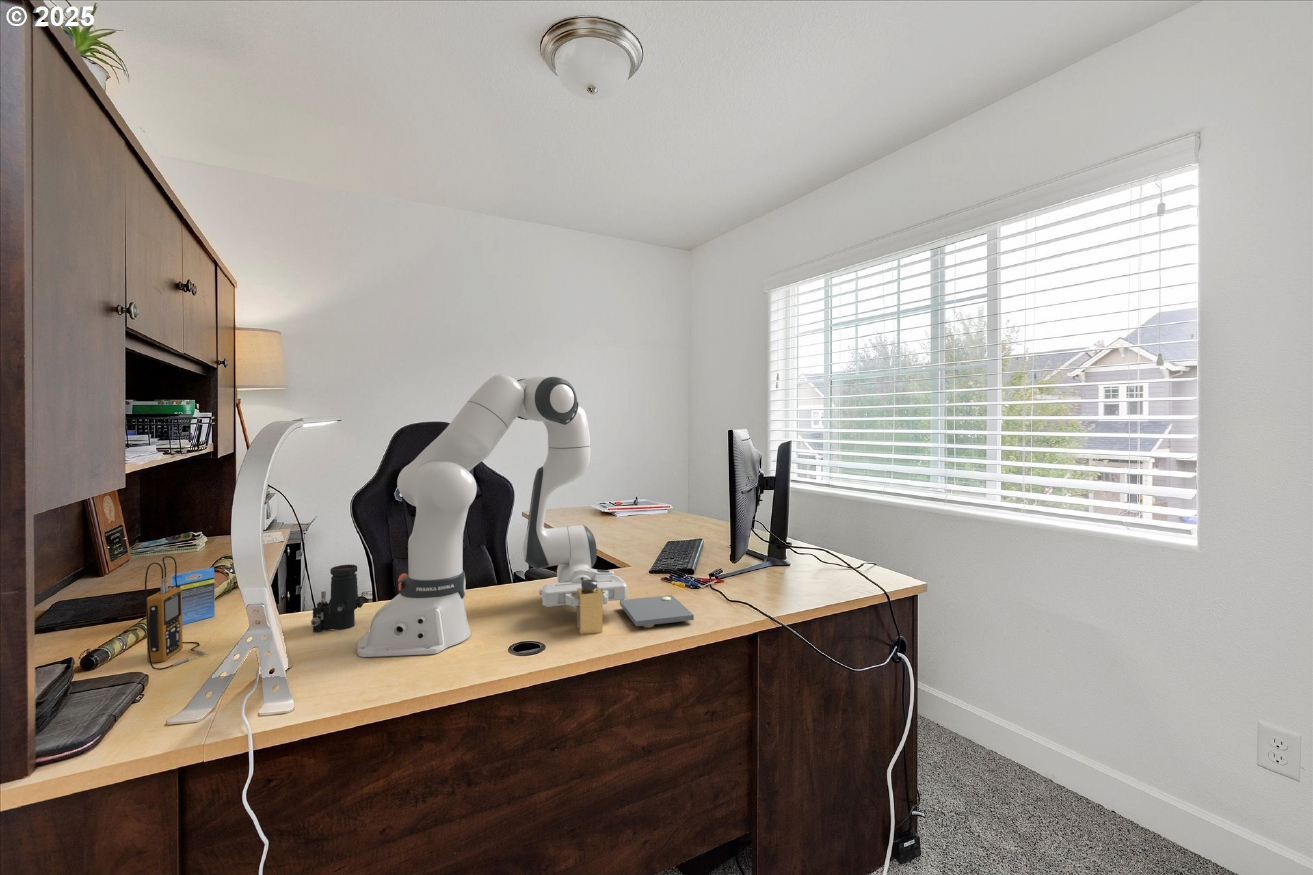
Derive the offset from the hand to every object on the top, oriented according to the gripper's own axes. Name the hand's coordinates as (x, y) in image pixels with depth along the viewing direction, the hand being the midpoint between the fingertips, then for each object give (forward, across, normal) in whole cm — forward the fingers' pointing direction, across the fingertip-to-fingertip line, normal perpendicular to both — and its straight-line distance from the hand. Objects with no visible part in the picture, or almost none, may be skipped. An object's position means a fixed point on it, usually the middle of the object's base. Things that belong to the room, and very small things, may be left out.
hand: (590, 602), depth 127 cm
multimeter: (-12, -81, +7) cm, 82 cm away
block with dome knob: (-1, 0, +6) cm, 7 cm away
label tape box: (-35, -90, +7) cm, 97 cm away
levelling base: (-5, +17, +6) cm, 19 cm away
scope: (-20, -55, +7) cm, 59 cm away
